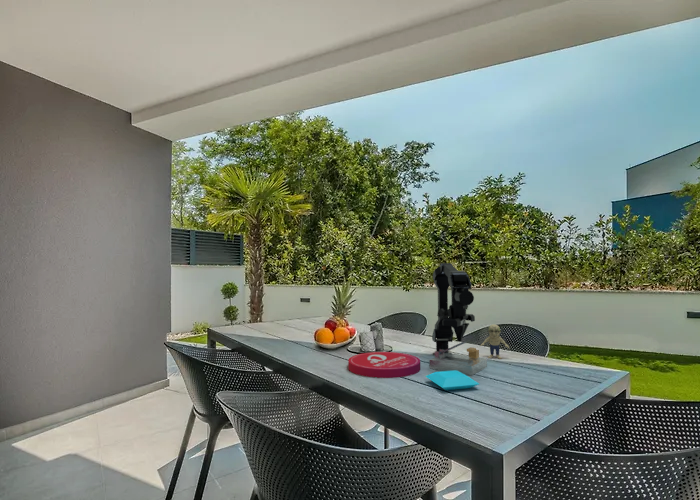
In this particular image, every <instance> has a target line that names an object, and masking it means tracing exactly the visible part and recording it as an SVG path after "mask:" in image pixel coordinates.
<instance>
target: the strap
mask: <svg viewBox="0 0 700 500" xmlns="http://www.w3.org/2000/svg"><path fill="white" fill-rule="evenodd" d="M466 343H467V341H466V340H465V341H462V342H459V343H458V344H454V345H453V346H451V347H449V348H448V349H446V350H444V351H440V355H441V354H442V353H444V352H446V351H448V350H449V351H451V350H452V349H453V350H454V349H455V348H458V347H459V346H462V345H464V344H466Z"/></svg>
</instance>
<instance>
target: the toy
mask: <svg viewBox="0 0 700 500" xmlns="http://www.w3.org/2000/svg"><path fill="white" fill-rule="evenodd" d="M487 330H488V333H489V336H487V338H485V339H484V341H483V342H482V343H481V344H480V347H482V346H485V344H486V343H489V353H490V354H489V356H487V358H488V359H492V358H494V354H495V356H496V358H497V359H498V360H500V359H501V360H502V357H501V356H500V345H501V344H503V345H505V346H504V347H505V348H506V347H507V348H508V349H510V346H509V344H508V343H506V341H505V340H504V339H503V338H502V337H501V336H500V334H501V329H500V326H499V325H498V324H495V323H492V324H490V325H489V326H488V329H487Z"/></svg>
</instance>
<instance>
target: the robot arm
mask: <svg viewBox="0 0 700 500" xmlns="http://www.w3.org/2000/svg"><path fill="white" fill-rule="evenodd" d="M432 280H433V283H434V285H435V287H436V289H437V315H436V316H437V320H436V322H435V324H434V329H433V331H432V336H431V337H432V342H434V343H435V348H436V349H435V351H439V352H440V350H439V349H443V350H446V349H448V348H450V346H449V343H453V338H454V333H455V336H456V340H457V342H461V341H462V340H463V338H464V335H465V334H466V331H467V329H468V327H469V325H470V323H469V322H467V321H470V322H471V323H473V322H475V321H476V319H475V315H474V314H472V313H467V309H468V308H469V306H470V305H471V304H473V302H474V299H475V297H474V294H473V292H471V291H470V290H471V289H472V286H473V284H472V282H471V279H470V277H469V274H467V272H466V271H464V270H463V271H462V270H458V269H457V268H456V267H455V266H454V265H453V264H452V263H451V262H442V263H440V265H439V266H438V267H436V268H434V270H433V273H432ZM449 288H450V291H451V293H450V294H451V304H450V305H449V303H448V302H449V301H448V300H449V297H448V294H449V293H448V290H449ZM448 305H449V306H448ZM453 330H454V331H453ZM449 351H450V350H448V351H446V352H444V354H445V353H451V352H449ZM433 355H435V352H433Z"/></svg>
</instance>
